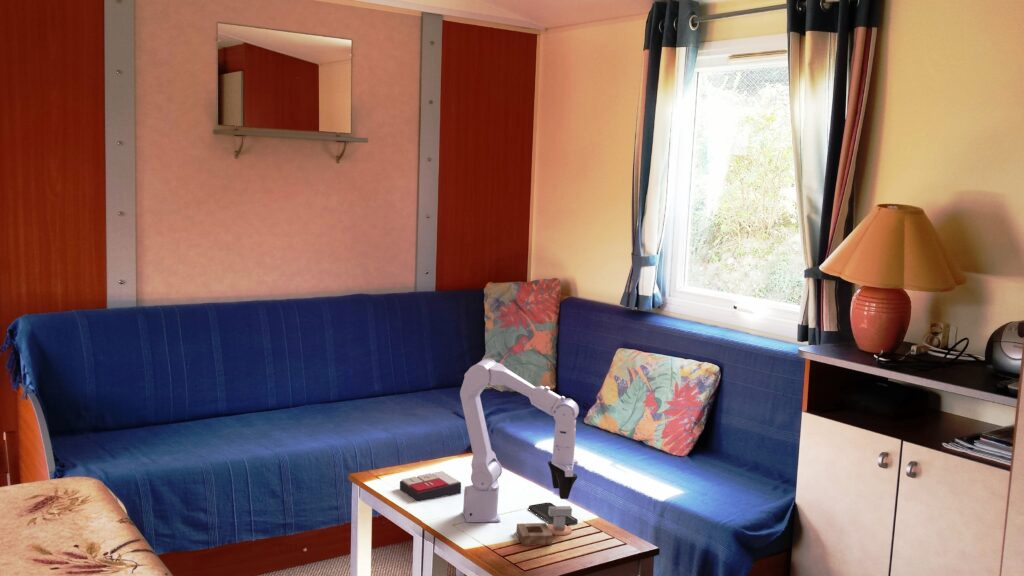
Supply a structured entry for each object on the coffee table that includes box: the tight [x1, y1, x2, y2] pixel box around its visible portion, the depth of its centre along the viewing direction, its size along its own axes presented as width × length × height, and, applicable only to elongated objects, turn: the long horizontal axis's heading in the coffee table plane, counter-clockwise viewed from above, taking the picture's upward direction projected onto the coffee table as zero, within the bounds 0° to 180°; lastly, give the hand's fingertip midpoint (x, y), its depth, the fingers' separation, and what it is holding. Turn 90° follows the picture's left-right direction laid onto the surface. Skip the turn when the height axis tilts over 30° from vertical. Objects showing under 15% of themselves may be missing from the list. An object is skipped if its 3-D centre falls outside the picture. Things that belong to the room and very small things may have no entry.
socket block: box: [516, 522, 554, 546], centre depth 236 cm, size 8×8×2 cm
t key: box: [548, 505, 573, 531], centre depth 242 cm, size 6×3×6 cm, turn 101°
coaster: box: [547, 523, 573, 536], centre depth 243 cm, size 7×7×1 cm
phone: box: [528, 502, 579, 526], centre depth 253 cm, size 8×1×15 cm
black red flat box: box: [399, 470, 462, 502], centre depth 265 cm, size 11×4×15 cm
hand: (560, 493), depth 242 cm, fingers open, 7 cm apart
